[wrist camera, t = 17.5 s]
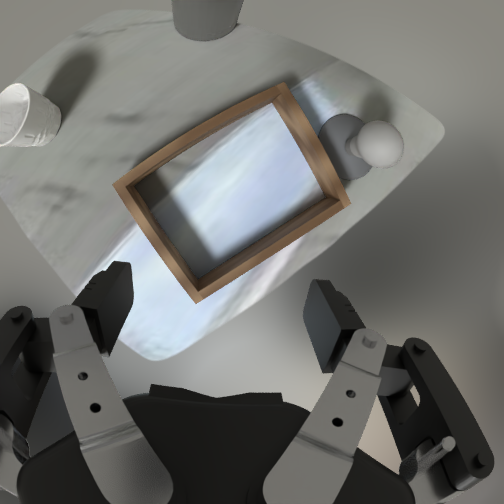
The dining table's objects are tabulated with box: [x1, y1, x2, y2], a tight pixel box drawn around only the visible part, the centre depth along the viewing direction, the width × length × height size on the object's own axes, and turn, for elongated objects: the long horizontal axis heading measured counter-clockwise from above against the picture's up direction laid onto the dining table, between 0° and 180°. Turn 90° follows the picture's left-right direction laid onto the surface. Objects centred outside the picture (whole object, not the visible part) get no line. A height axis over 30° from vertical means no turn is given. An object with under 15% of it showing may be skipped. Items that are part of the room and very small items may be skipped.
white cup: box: [0, 83, 61, 147], centre depth 23 cm, size 8×8×10 cm
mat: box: [318, 115, 372, 180], centre depth 37 cm, size 10×10×1 cm
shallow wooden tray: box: [112, 82, 351, 304], centre depth 33 cm, size 18×24×4 cm
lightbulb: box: [345, 120, 404, 169], centre depth 31 cm, size 6×6×11 cm
